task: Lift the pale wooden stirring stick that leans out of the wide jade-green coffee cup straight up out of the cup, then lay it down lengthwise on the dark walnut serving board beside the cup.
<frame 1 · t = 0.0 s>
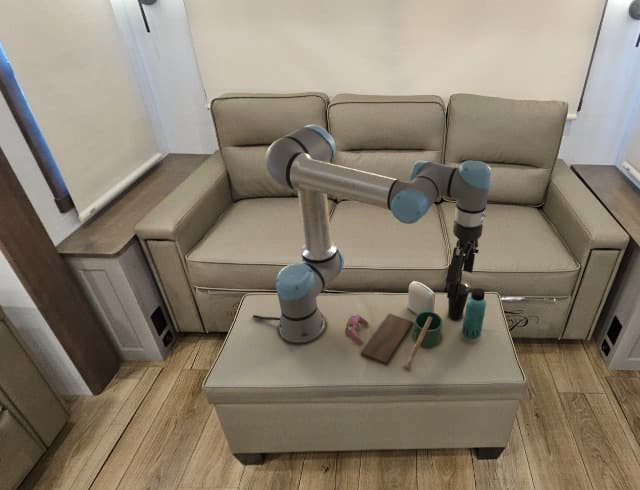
hand: (460, 284, 122), 28 cm above the table, tool pointing down, fingers open, 13 cm apart
photo printer: (420, 312, 152), on the table
coffee cup: (427, 337, 143), on the table
beverage bottle: (470, 336, 144), on the table
drinking cup: (455, 316, 151), on the table
video game controller: (356, 333, 144), on the table
stirrer: (418, 342, 133), point 6 cm above the table, tilted 86°
board: (387, 338, 142), on the table
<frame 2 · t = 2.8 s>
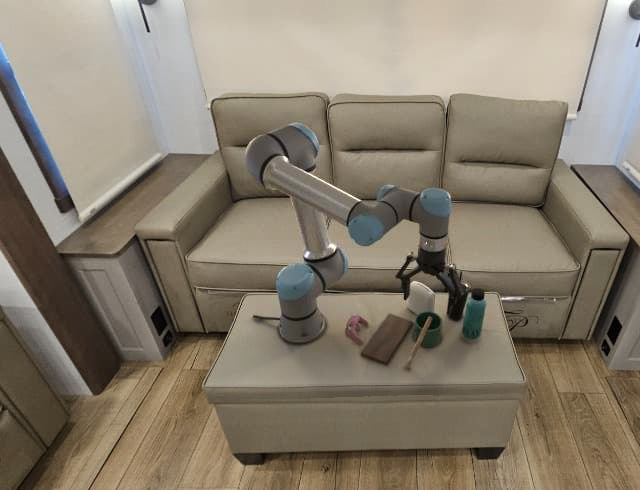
hand: (427, 304, 125), 21 cm above the table, tool pointing down, fingers open, 13 cm apart
stirrer: (418, 342, 133), point 6 cm above the table, tilted 85°, touching coffee cup
everything else where it was.
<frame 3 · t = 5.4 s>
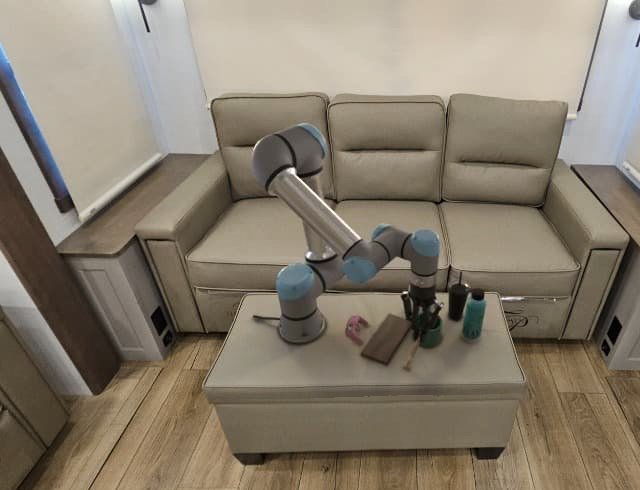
hand: (419, 338, 133), 7 cm above the table, tool pointing down, fingers closed on stirrer, 1 cm apart
stirrer: (418, 341, 133), point 6 cm above the table, tilted 84°, touching coffee cup, gripper
everything else where it was.
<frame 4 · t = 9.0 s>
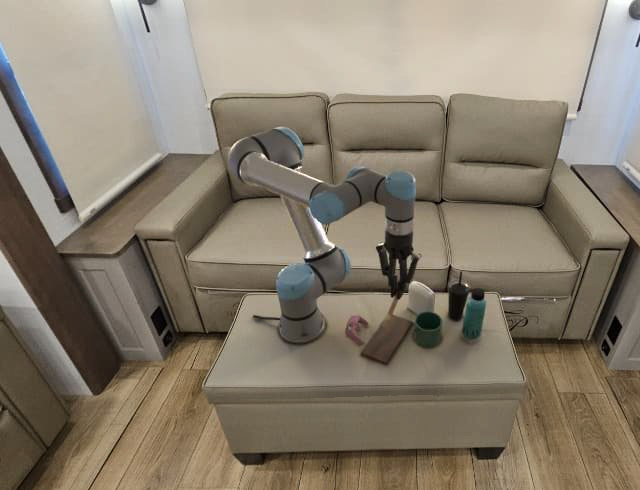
hand: (396, 295, 126), 22 cm above the table, tool pointing down, fingers closed on stirrer
stirrer: (395, 299, 126), point 21 cm above the table, tilted 84°, touching gripper
everything else where it was.
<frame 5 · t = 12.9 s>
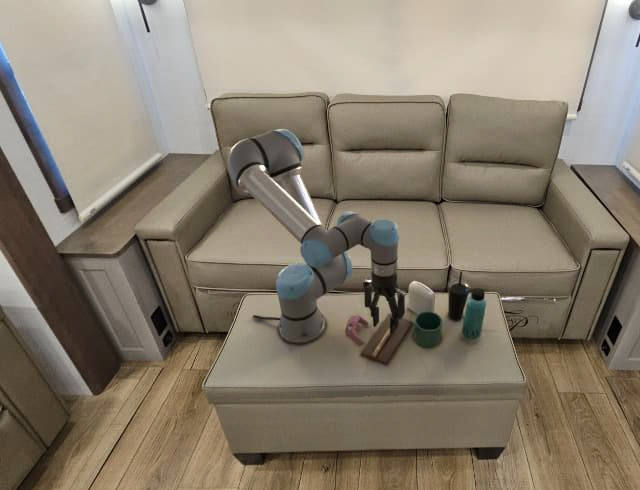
hand: (384, 327, 135), 8 cm above the table, tool pointing down, fingers open, 5 cm apart
stirrer: (386, 337, 140), point 2 cm above the table, tilted 46°, touching board
everything else where it was.
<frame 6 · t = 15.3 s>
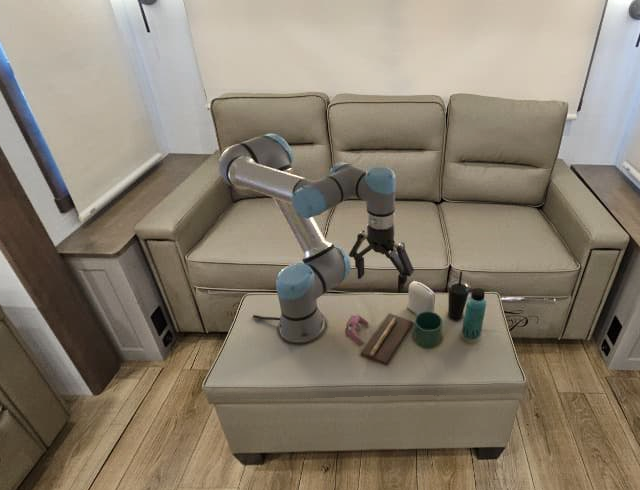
hand: (380, 283, 128), 24 cm above the table, tool pointing down, fingers open, 13 cm apart
stirrer: (383, 336, 140), point 2 cm above the table, tilted 67°, touching board
everything else where it was.
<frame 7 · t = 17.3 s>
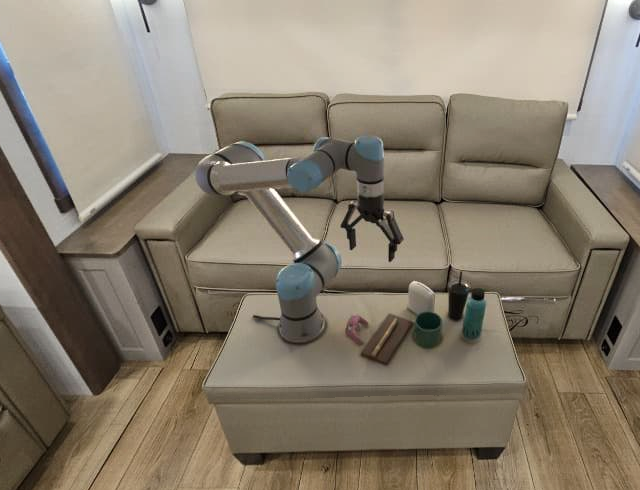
hand: (371, 253, 132), 29 cm above the table, tool pointing down, fingers open, 13 cm apart
stirrer: (385, 336, 140), point 2 cm above the table, tilted 45°, touching board
everything else where it was.
at the end: stirrer inside the target area on the board (1.2 cm from its centre), point 1.7 cm above the board's base; the gripper is holding nothing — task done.
